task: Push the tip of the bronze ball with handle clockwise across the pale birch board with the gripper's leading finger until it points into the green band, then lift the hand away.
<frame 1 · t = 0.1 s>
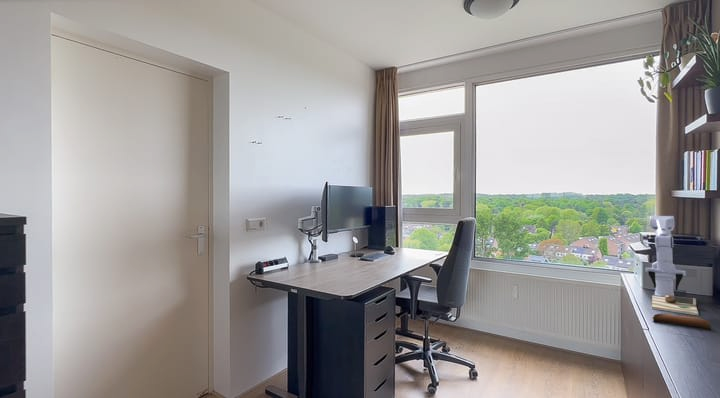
hand: (665, 288, 163), 10 cm above the table, tool pointing down, fingers open, 7 cm apart
dial board: (673, 306, 167), on the table
bronze ball with handle: (680, 299, 167), point 3 cm above the table, hinge at 90.0°
sunglasses case: (679, 324, 146), on the table
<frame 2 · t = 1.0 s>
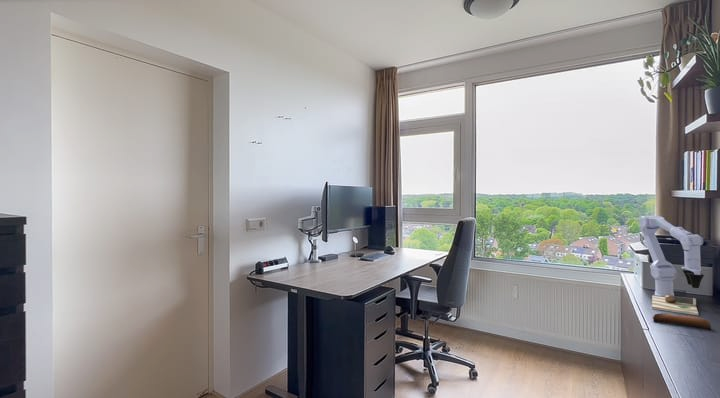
hand: (693, 286, 167), 9 cm above the table, tool pointing down, fingers open, 6 cm apart
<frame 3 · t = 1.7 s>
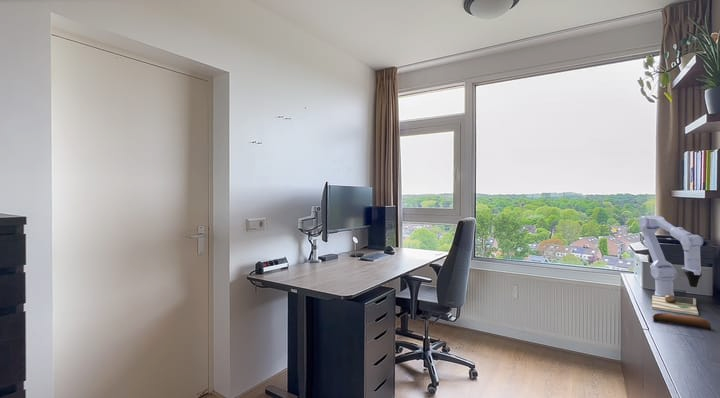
hand: (693, 286, 167), 9 cm above the table, tool pointing down, fingers closed
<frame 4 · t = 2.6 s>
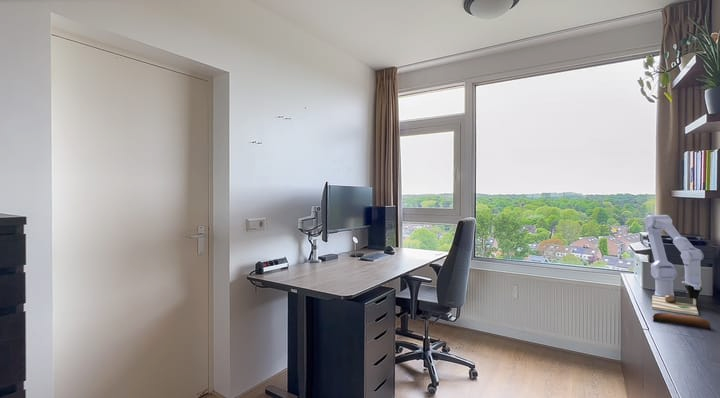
hand: (693, 300, 167), 2 cm above the table, tool pointing down, fingers closed
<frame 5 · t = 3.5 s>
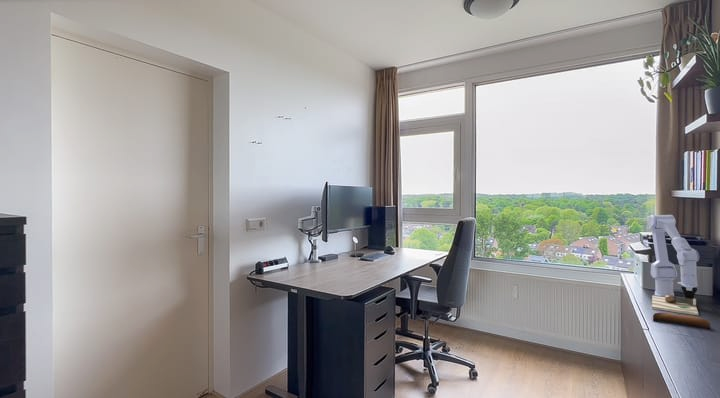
hand: (689, 302, 165), 2 cm above the table, tool pointing down, fingers closed, pressing on bronze ball with handle
bronze ball with handle: (680, 299, 167), point 3 cm above the table, hinge at 86.9°, touching gripper
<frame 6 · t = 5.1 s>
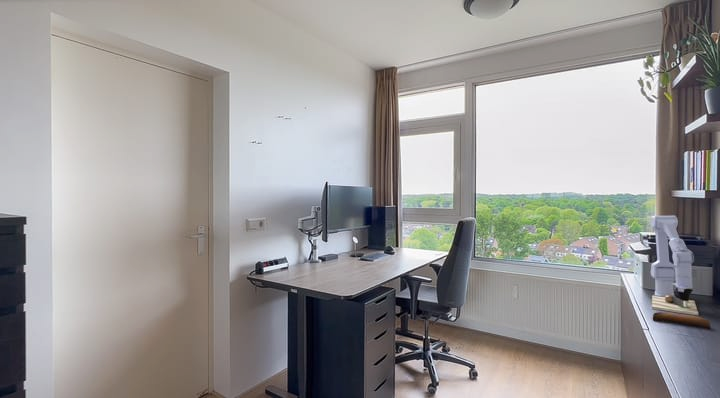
hand: (684, 303, 164), 2 cm above the table, tool pointing down, fingers closed
bronze ball with handle: (676, 300, 166), point 3 cm above the table, hinge at 37.1°, touching gripper
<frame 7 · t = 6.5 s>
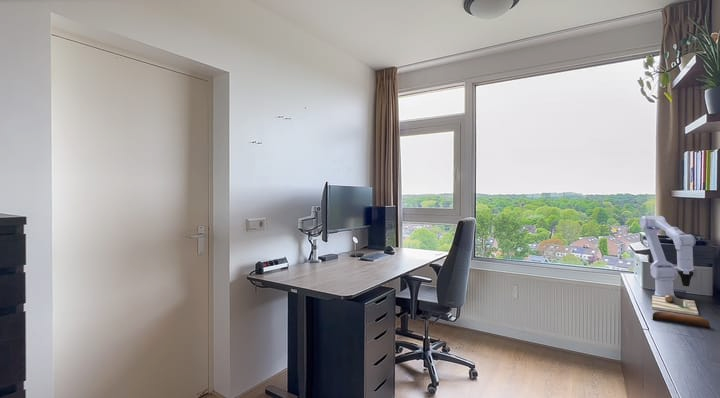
hand: (685, 285, 168), 9 cm above the table, tool pointing down, fingers closed
bronze ball with handle: (676, 300, 166), point 3 cm above the table, hinge at 36.8°
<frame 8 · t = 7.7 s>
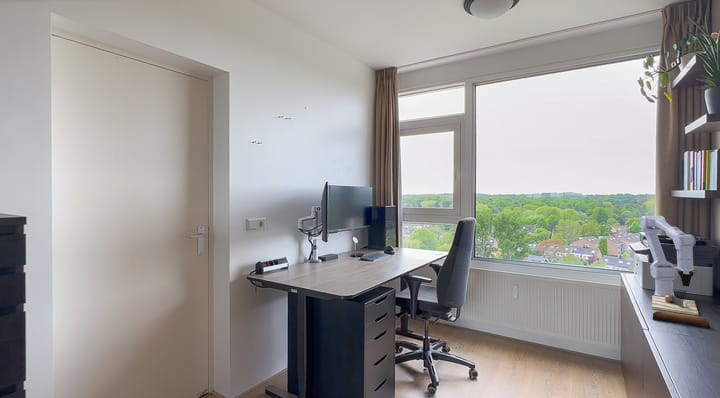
hand: (685, 285, 168), 9 cm above the table, tool pointing down, fingers closed
at the end: bronze ball with handle at +37° (first picture: +90°) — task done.
